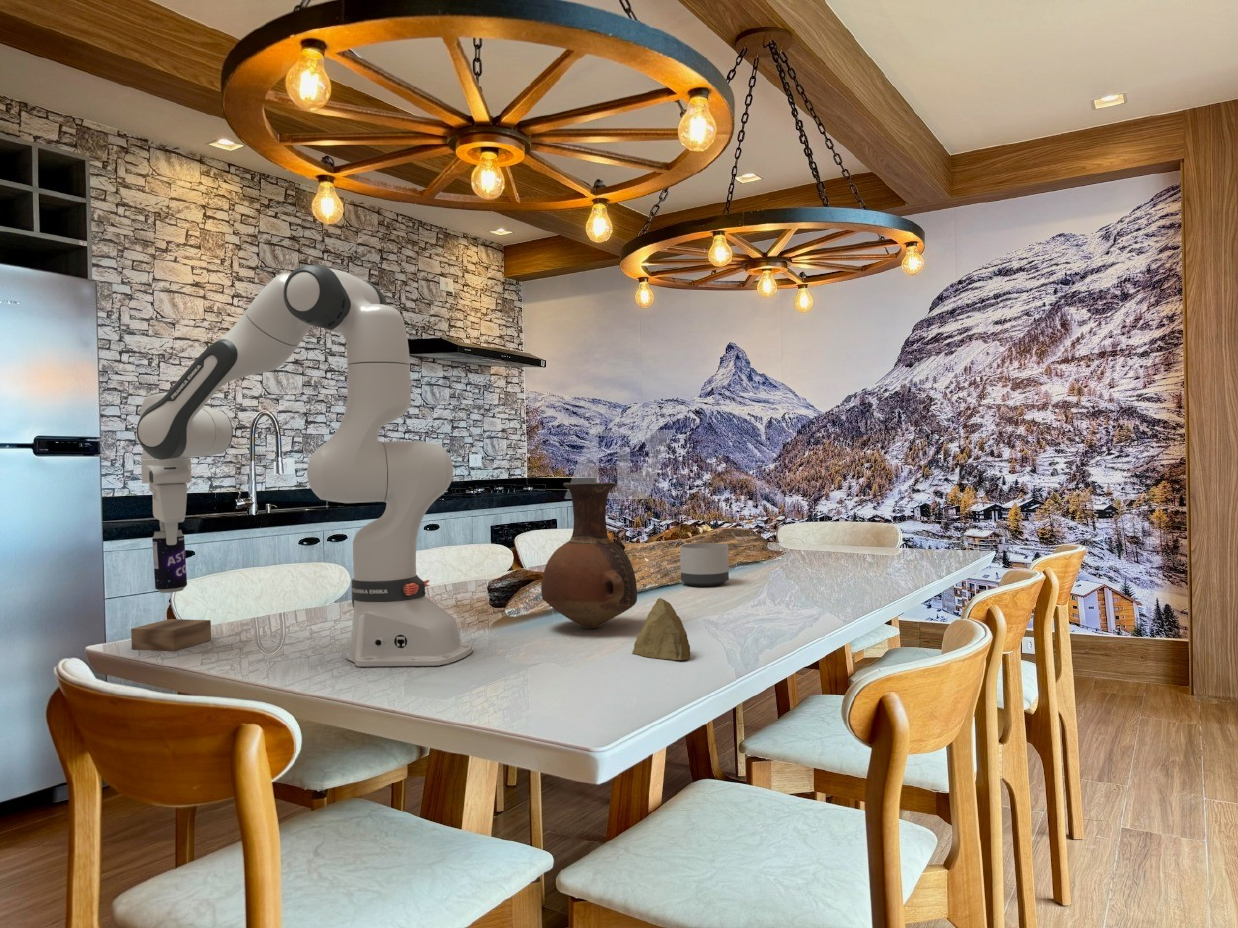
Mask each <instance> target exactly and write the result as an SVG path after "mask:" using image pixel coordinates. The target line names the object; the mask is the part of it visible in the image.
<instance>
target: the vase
mask: <svg viewBox="0 0 1238 928" xmlns="http://www.w3.org/2000/svg"><path fill="white" fill-rule="evenodd" d="M616 486H617V484H616V483H615V482H590V483H589V482H587V483H586V482H564V483H563V487H564V488H566V489H568V490H569V493H570V495H571V501H572V511H573V512H572V514H573V527H572V528H573V529H572V534H571V537H570V539H569V540H568V541H567V542H565V543H564V544H562V545H561V546H559V547H558V548H557V549H555V551H554V552H553V554H552V555H551V556H550V558H549V559H548V560H547V562H546V565H545V568H544V571H543V575H542V580H541V585H540V586H541V588H540V592H541V598H542V600H543V602H545V603H546V604H547V605H548V606H550V607H551V608H552V609H554V611H555V610H556V612H558V613H559V614H561V615H562V616H564V617H565V618H567V619H568V620H570V621H572V622H573V623H574V624H577V625H578V626H579V627H581V628H584V629H589V630H590V629H591V630H592V629H597V628H599V627H601V626H602V625H604V624H605V623H607V622H608V621H611V620H613V619H614V618H616V617H618V616H620V615H622V614H623V613H625V612H626V611H628V610H630V609H631V608H632V607H634V606H635V605H636V604H637V601H638V588H637V579H636V575H635V571H634V569H633V565H632V562H631V560H630V557H629V556H628V555H627V553H626V551H625V549H626V546H625V545H624V543H623V542H622V540H620V539H618V538H617V539H615V541H612V540H611V538H609V536H608V531H607V516H606V510H607V502H608V501H607V500H608V496H609V493H610V491H611V490H612V489H613V488H615V487H616Z"/></svg>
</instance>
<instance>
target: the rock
mask: <svg viewBox="0 0 1238 928" xmlns="http://www.w3.org/2000/svg"><path fill="white" fill-rule="evenodd" d="M643 622H644V623H643V626H642V627H641V629H640V630H639V632H638V634H637V636H636V640H635V642H634V645H633V649H632V653H631V654H632V655H638V656H641V657H645V658H653V659H659V660H660V659H661V660H672V661H688V660H690V659H691V645H690V643H689V638H688V634H687V631H686V630H685V627H684V624H683V621H682V620H681V618H680V616H679V615H678V614H677V612H676V611H675V608H674V607H673V605H672V604H671V603H670V602H669V601H667V600H665V599H663V598H661V597H659V598H657V600H656V602H655V603H654V605H652V608H651V610H650V611H649V612H648V615H647V616H646V619H645V620H644V621H643Z"/></svg>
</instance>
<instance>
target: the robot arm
mask: <svg viewBox="0 0 1238 928" xmlns="http://www.w3.org/2000/svg"><path fill="white" fill-rule="evenodd" d="M312 327H317V328H322V329H325V330H327V331H330V332H332V333H333V332H335V333H339V334H341V336H342V337H343V338H344V340H345V343H346V344H345V345H346V352H347V354H346V359H347V361H346V362H347V363H346V365H347V366H346V367H347V371H346V372H347V395H346V405H345V411H344V413H343V417H342V419H341V421H340V424H339V426H338V427H337V429H336V430H335V432H334V433H333V434H332V436H331V437H330V438H329V439H328V440H327V441H325V442H324V443H323V444H322V445H320V446H319V447H318V448H317V449H316V450H315V451H314V452H313V453H312V454H311V456H310V458H309V461H308V463H307V467H306V468H307V469H306V477H307V482H308V485H309V487H310V489H311V491H312V492H313V494H315V495H316V497H318V498H319V500H321V501H322V500H323V501H327V502H333V503H343V504H356V503H357V504H358V503H360V504H361V503H376V502H383V503H386V506H385V510H384V512H383V513H382V515H381V516H380V517H378V518H377V519H375V520H372V521H371V522H369V523H367V524H366V525H364V526H363V527H361V528H360V529H359V530H358V531H357V533H356V534H355V535H354V537H353V540H352V555H353V556H352V560H353V562H352V563H353V578H352V579H351V602H352V607H353V617H352V618H353V619H352V627H351V635H350V636H351V637H350V641H349V647H348V650H347V654H346V659H347V660H348V661H351V662H353V663H354V665H355V666H356V667H424V666H425V667H430V666H433V667H435V666H441V665H443V666H444V665H447V664H451V663H453V662H457V661H460V660H461V659H463V658H465V657H467V656H469V655H470V654H471V653H472V652H473V649H474V648H473V644H472V643H468V642H461V637H460V636H461V635H460V629H459V627H458V626H459V625H458V623H457V620H456V619H455V618H454V616H452V614H450V613H448V612H447V611H446V610H445V609H444V608H442V607H441V606H439V605H438V604H437V603H435V602H434V601H433V600H431V599H430V598H429V597H428V596H426V595H427V593H426V588H427V587H429V586H431V585H430V584H429V582H430V580H429V579H427V580H423V579H422V578H420V576H419V575H417V543H418V541H417V540H418V533H419V529H420V526H421V523H422V520H423V519H424V516H425V514H426V513H427V511H428V510H429V508H430V507H431V506H432V505H433V504H434V502H435V501H437V500H438V499H439V498H440V497H441V496H442V495H443V494H445V493H446V492H447V490H448V488H449V487H450V485H451V483H452V480H453V477H454V465H453V461H452V458H451V456H450V454H449V453H448V451H447V450H446V449H445V448H444V447H443V446H442V445H439V444H435V443H430V442H426V441H425V442H424V441H418V440H410V441H409V440H407V441H406V440H405V441H404V440H403V441H401V440H400V441H395V440H394V441H381V440H378V439H379V433H380V429H381V428H382V427H384V426H386V425H388V424H390V423H392V422H394V421H396V420H398V419H399V418H401V417H402V416H404V415H405V414H406V413H407V412H408V410H409V409H410V406H411V403H412V395H411V394H412V391H411V390H412V389H411V384H412V383H411V366H410V365H411V360H410V357H411V356H410V347H409V341H408V336H407V330H406V324H405V321H404V318H403V316H402V314H401V313H400V312H399V310H397V309H396V308H394V307H392V306H389V305H388V302H387V299H386V297H385V295H384V293H383V292H382V291H381V289H379V288H378V287H377V286H376V285H375V284H373V283H371V282H370V281H368V280H366V279H361V278H359V277H357V276H354V275H352V274H351V273H349V272H346V271H344V270H341V269H340V270H339V269H336V268H329V267H327V266H324V265H321V264H305V265H301V266H299V267H297V268H295V269H294V270H293V271H291V272H290V273H287V272H285V273H280V274H278V275H277V276H275V277H273V279H271V281H269V282H268V283H267V285H265V286H264V288H263V289H262V290H261V291H260V292H259V293H258V295H257V296H255V298H254V299H253V300H252V302H251V303H250V304H249V305H248V306H247V308H246V310H245V312H244V313H243V314H242V315H241V317H240V318H239V320H237V321H236V323H235V324H234V325H233V326H232V327H231V328H230V329H229V330H228V331H227V332H226V333H225V334H224V335H223V336H221V337H220V338H218V339H217V340H216V341H214V342H213V343H211V344H210V345H209V346H208V347H207V348H206V349H205V350H203V351H202V353H201V354H199V356H198V357H197V358H196V359H195V360H194V362H192V363H191V365H190V366H189V367H188V368H187V370H186V371H185V372H184V373H183V374H182V375H181V376H180V378H179V379H178V380H177V381H176V382H175V383H174V385H173V386H172V387H171V388H170V389H169V390H168V391H162V392H161V391H160V392H154V393H152V394H149V395H147V396H145V397H144V398H143V400H142V404H141V408H140V415H139V420H138V422H137V425H136V437H137V440H138V443H139V445H140V446H141V448H142V452H141V453H142V454H141V457H140V460H141V461H140V466H141V469H140V471H141V483H142V484H148V485H149V486H148V487H149V490H148V491H149V492H150V493H151V492H152V515H153V517H154V518H155V519H157V520H158V521H159V528H160V531H166V544H167V545H175V544H176V543H177V530H179V523H184V521H185V519H186V512H187V499H188V484H190V483H191V482H192V479H193V477H192V458H197V457H211V456H212V457H213V456H217V455H220V454H222V453H225V452H226V451H227V450H228V448H230V445H231V443H232V441H233V436H234V429H233V427H234V426H233V424H232V421H231V420H230V418H229V416H228V415H227V414H226V413H225V412H223V410H220V409H217V408H213V407H209V406H206V404H207V403H208V401H210V400H211V399H212V397H213V396H214V395H215V394H216V392H217V391H218V390H220V388H222V387H223V386H225V385H226V384H228V383H229V382H232V381H235V380H237V379H241V378H245V377H248V376H252V375H257V374H258V375H259V374H264V373H268V372H272V371H274V370H277V369H278V368H280V367H281V366H282V365H283V364H285V362H286V361H288V360H289V359H290V358H291V356H293V354H294V352H295V351H296V349H297V348H298V347H299V345H300V344H301V342H302V341H303V339H304V337H305V336H306V334H307V333H308V332H309V331H310V330H311V329H312Z"/></svg>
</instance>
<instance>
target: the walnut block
mask: <svg viewBox="0 0 1238 928" xmlns="http://www.w3.org/2000/svg"><path fill="white" fill-rule="evenodd" d="M130 635H131V641H130V642H131V650H141V651H143V650H144V651H169V652H171V651H173V652H175V651H179V650H182V649H185V648H188V647H189V648H190V647H192V646H195V645H198V644H202V643H204V642H205V643H206V642H208V641H211V640H212V621H211V620H210V619H179V618H177V619H176V618H175V619H174V618H169V619H164V620H160V621H157V622H154V623H153V622H152V623H148V624H145V625H141V626H137V627H133V628H130Z"/></svg>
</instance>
